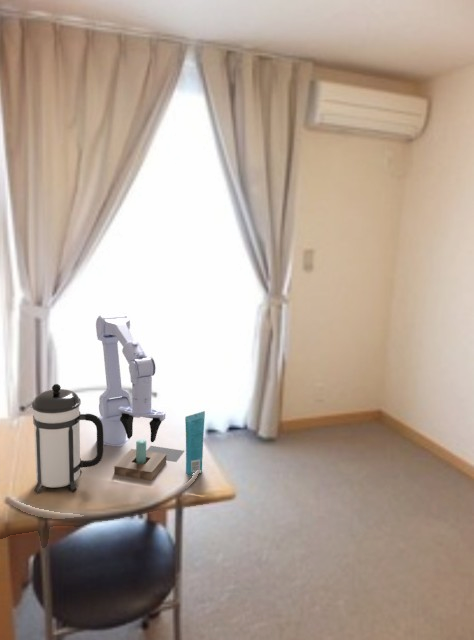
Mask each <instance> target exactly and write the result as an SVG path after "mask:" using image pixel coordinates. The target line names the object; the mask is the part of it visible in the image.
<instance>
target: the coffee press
mask: <svg viewBox="0 0 474 640" xmlns="http://www.w3.org/2000/svg"><path fill="white" fill-rule="evenodd" d="M61 387H62V386H61V385H60V384H58V383H55V384H53V385H52V386H51V389H49V390H45V391H42V392H40V393H39V394H37V396H35V397H34V400H33V401H32V402H31V406H30V407H29V409H28V410H27V412H28V413H32V414H33V415H32V421H33V425H34V448H35V449H34V451H35V453H34V454H35V474H36V477H35V478H36V481H37V483H36V485H35V486H34V489H33V491H34V492H35V493H36V494H41V492H42V491H43V490H44V488H46V487H47V488H52V489H53V488H61V487H62V488H63V487H68V489H69V492H71V493H73V492H75V491H77V490H78V487H77V485H76V481H77V480H78V479H79V477H80V475H81V474H82V470H81V469H82V468H83V469H84V468H92V467H94V466H97V465H98V464H99V463H100V462H101V461H102V458H103V455H104V445H103V425H102V422H101V420H100V419H99V417H98V416H97V415H95V414H92V413H83V414H82V413H81V411H80V405H81V404H82V403H81V398H80V397H79V396H78V394H77V393H76V392H75V391H72V390H69V389H66V388H65V389H64V388H61ZM80 421H89V422H91V423H93V424H94V426H95V427H96V441H97V444H96V455H95V457H94V458H92V459H87V460H82V458H81V440H80V439H81V434H80V431H81V430H80V427H81V426H80V425H81V424H80Z"/></svg>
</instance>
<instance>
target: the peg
mask: <svg viewBox="0 0 474 640" xmlns="http://www.w3.org/2000/svg"><path fill="white" fill-rule="evenodd" d="M135 445H136V446H135V447H136V448H135V449H136V463H139V464H146V450H147V440H145V439H138V440H137V441H136V444H135Z"/></svg>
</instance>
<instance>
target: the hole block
mask: <svg viewBox="0 0 474 640" xmlns="http://www.w3.org/2000/svg"><path fill="white" fill-rule="evenodd" d="M166 455H167V454H162V453H155V452H149V451H146V464H139V463H136V448H130V450H129V451H128V452H127V453H126V454H125V455H123V457H122V458H121V459H119V461H118V462H117V463H115V465H114V468H113V469H114V471H113V472H114V473H113V474H114V475H118V476H122V477H129V478H135V479H141V480H147V481H153V480H154V479H155V477H156V476H157V475H158V473H159V472H160V471H161V469H162V468H163V467H164V465H166V463H167V460H166Z"/></svg>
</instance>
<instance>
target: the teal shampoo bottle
mask: <svg viewBox="0 0 474 640" xmlns="http://www.w3.org/2000/svg"><path fill="white" fill-rule="evenodd" d="M205 415H206V412H205V410H203V411H200V412H198V413H194V414H190V415H189V414H188V415H187V416H185V473H186V474H187V475H190V476H193V475H192V474H193V473H195V472H196V471H197V470H201V474H202V472H203V457H204V456H203V454H204V449H203V448H204V436H205V435H204V433H205V431H204V429H205V420H206V419H205Z"/></svg>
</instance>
